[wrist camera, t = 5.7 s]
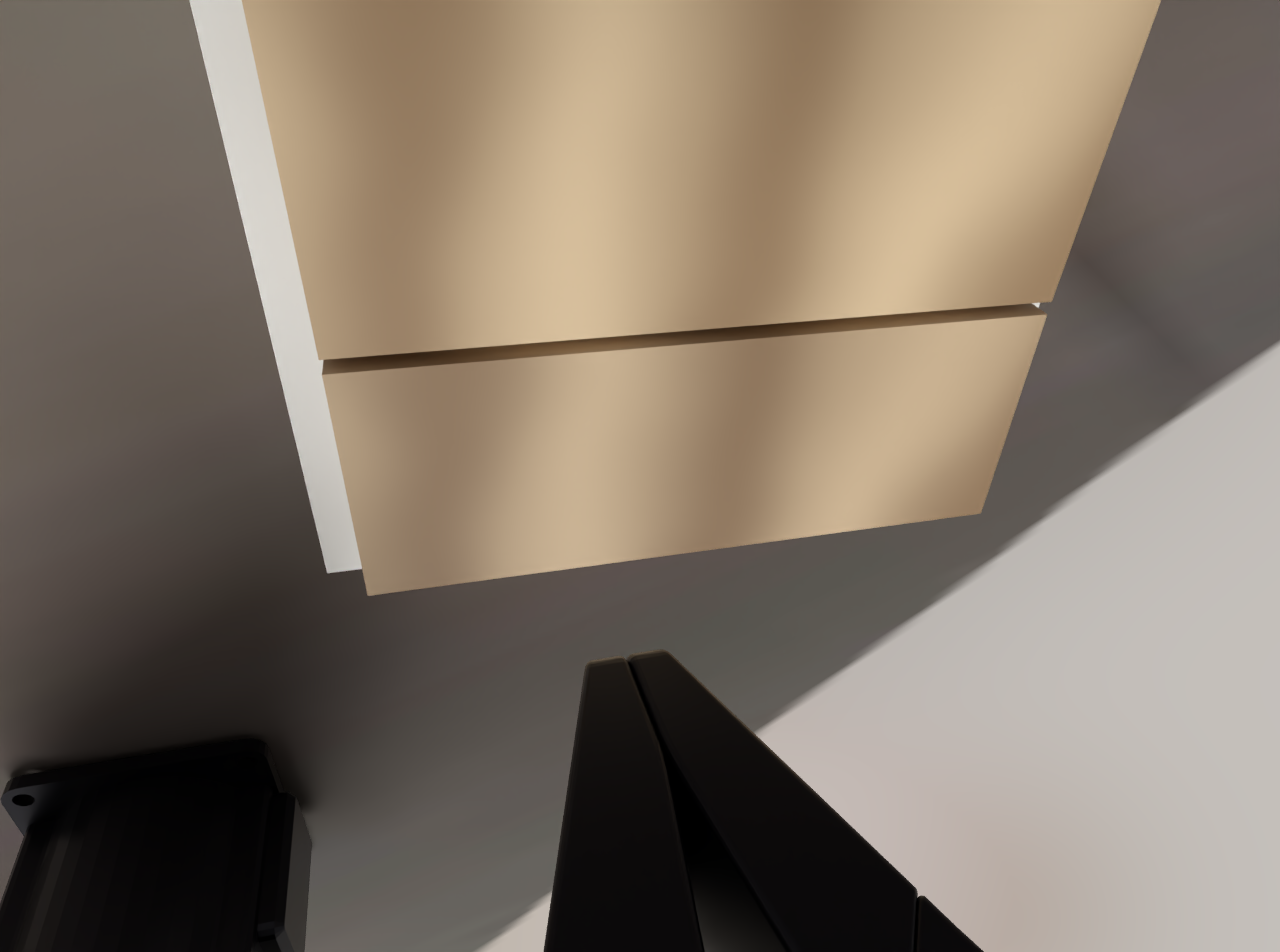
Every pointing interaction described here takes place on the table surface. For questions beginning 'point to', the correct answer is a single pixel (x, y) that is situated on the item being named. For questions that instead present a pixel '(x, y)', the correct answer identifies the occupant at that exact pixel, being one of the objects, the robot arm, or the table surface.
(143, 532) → the table surface
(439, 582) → the laid plank
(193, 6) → the board
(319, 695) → the table surface
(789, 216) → the raised plank
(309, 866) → the robot arm
